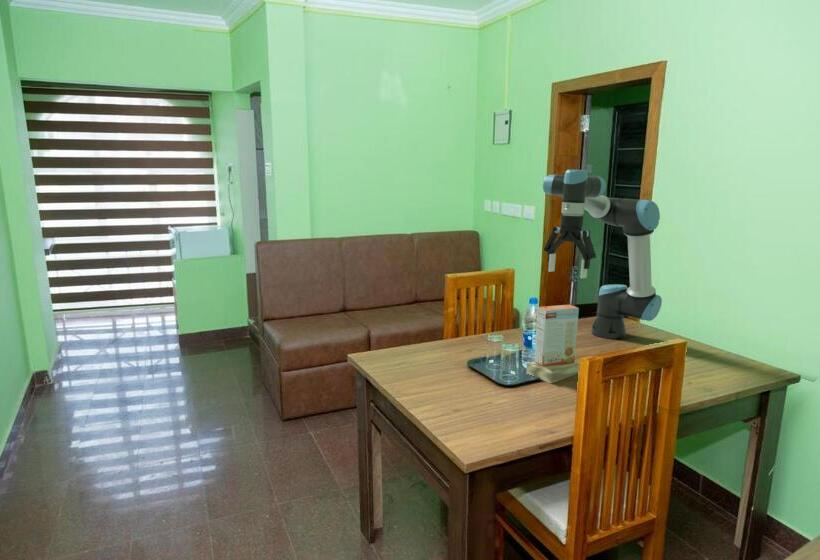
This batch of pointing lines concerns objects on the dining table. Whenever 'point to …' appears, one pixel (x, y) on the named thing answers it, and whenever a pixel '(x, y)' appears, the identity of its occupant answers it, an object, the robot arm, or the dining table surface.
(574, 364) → the stack of paper napkins
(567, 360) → the cracker box
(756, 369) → the dining table surface
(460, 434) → the dining table surface
